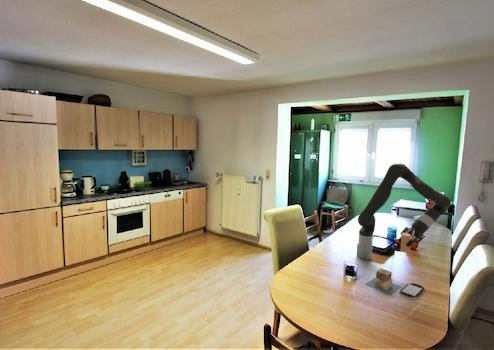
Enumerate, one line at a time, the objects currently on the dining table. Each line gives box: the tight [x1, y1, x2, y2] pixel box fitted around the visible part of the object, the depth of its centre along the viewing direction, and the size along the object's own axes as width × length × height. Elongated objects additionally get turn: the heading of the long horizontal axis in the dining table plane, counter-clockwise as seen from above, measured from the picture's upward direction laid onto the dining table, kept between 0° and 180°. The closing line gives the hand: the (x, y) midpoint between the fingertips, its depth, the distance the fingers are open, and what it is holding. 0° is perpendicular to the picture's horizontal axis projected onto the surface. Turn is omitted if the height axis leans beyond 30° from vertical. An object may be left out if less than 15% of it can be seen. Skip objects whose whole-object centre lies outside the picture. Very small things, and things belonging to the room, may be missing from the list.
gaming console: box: [399, 282, 426, 300], centre depth 153 cm, size 19×9×2 cm, turn 131°
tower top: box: [375, 268, 393, 282], centre depth 159 cm, size 6×6×4 cm
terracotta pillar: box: [400, 233, 412, 254], centre depth 159 cm, size 5×5×10 cm
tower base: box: [374, 276, 393, 290], centre depth 159 cm, size 7×7×4 cm
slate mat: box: [364, 277, 403, 296], centre depth 159 cm, size 15×15×1 cm
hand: (403, 244), depth 159 cm, fingers closed on terracotta pillar, 6 cm apart
